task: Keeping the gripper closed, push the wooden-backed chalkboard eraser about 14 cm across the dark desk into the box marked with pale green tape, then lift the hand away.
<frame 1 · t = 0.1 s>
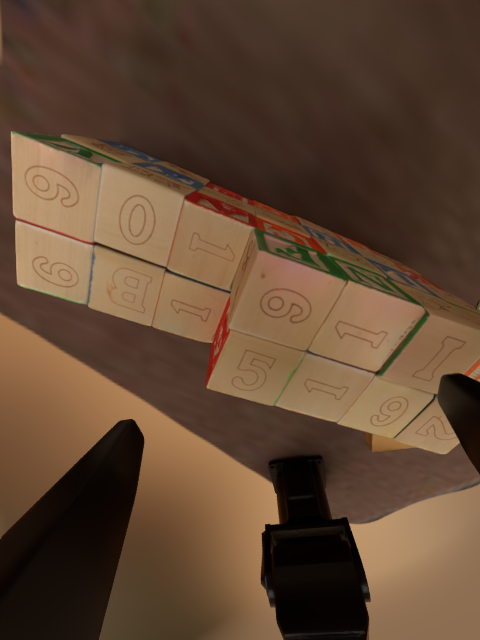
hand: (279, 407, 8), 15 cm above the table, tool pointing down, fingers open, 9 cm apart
stack of blocks: (256, 247, 21), on the table
chalkboard eraser: (384, 385, 27), on the table
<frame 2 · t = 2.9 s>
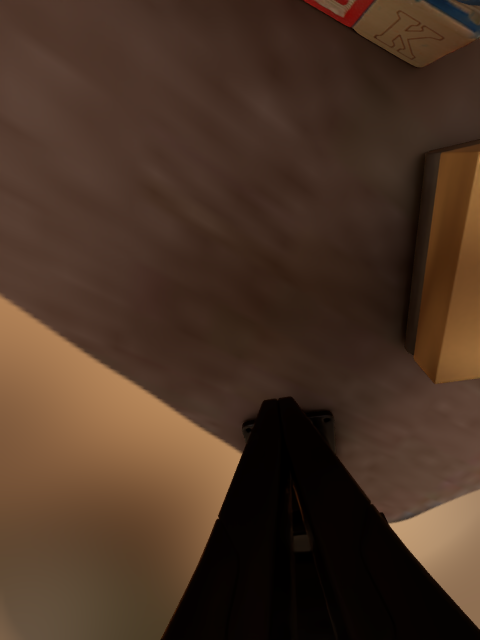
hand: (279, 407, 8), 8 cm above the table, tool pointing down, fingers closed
chalkboard eraser: (459, 255, 14), on the table
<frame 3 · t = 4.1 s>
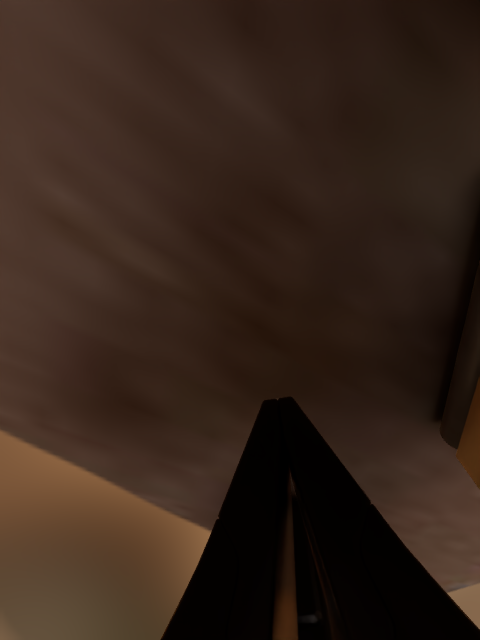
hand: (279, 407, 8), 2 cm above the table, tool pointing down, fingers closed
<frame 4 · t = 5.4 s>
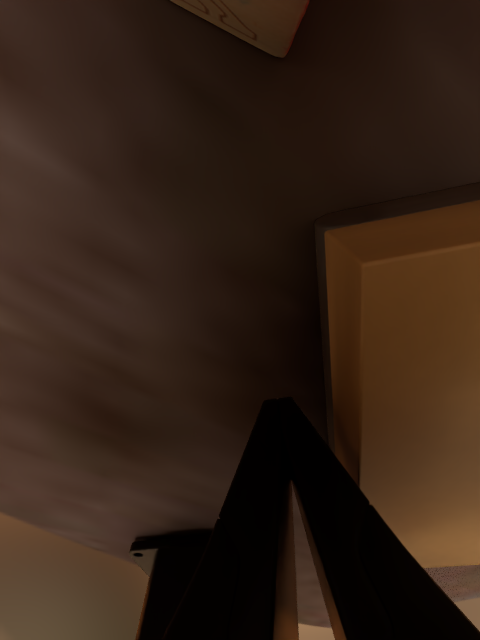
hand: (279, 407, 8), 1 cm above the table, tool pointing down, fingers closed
chalkboard eraser: (398, 362, 9), on the table, touching gripper
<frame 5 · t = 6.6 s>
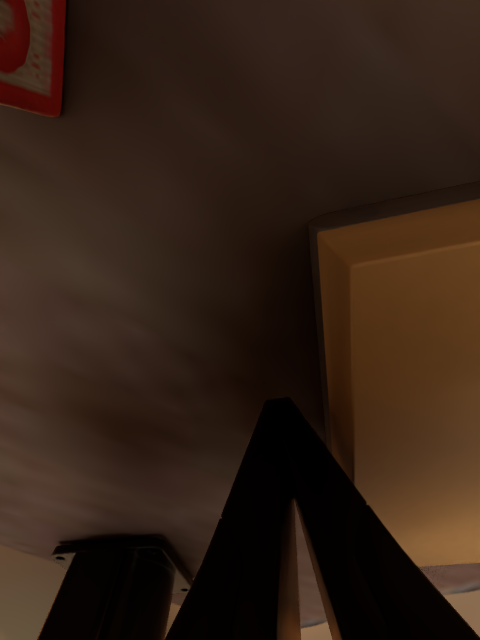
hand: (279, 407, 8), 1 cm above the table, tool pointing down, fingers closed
chalkboard eraser: (395, 362, 9), on the table, touching gripper
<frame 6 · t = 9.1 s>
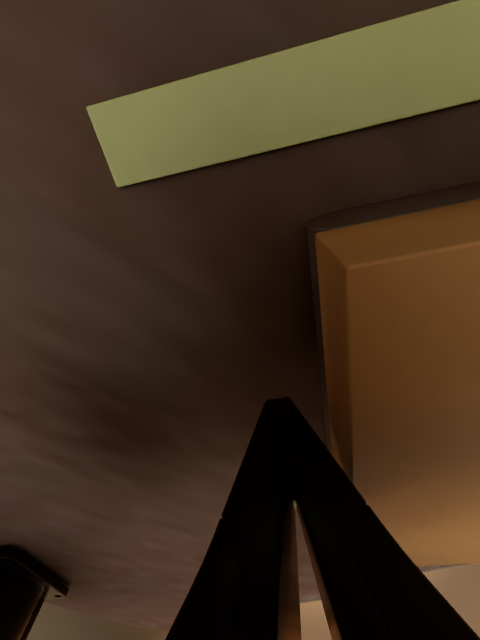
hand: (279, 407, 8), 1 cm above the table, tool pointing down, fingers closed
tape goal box: (409, 359, 9), on the table
chalkboard eraser: (395, 362, 9), on the table, touching gripper
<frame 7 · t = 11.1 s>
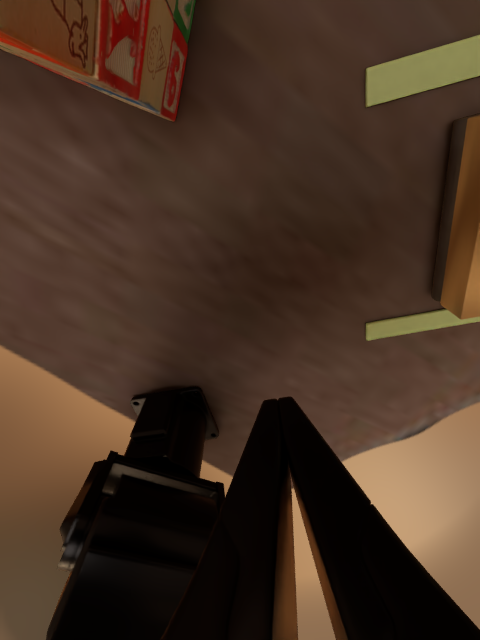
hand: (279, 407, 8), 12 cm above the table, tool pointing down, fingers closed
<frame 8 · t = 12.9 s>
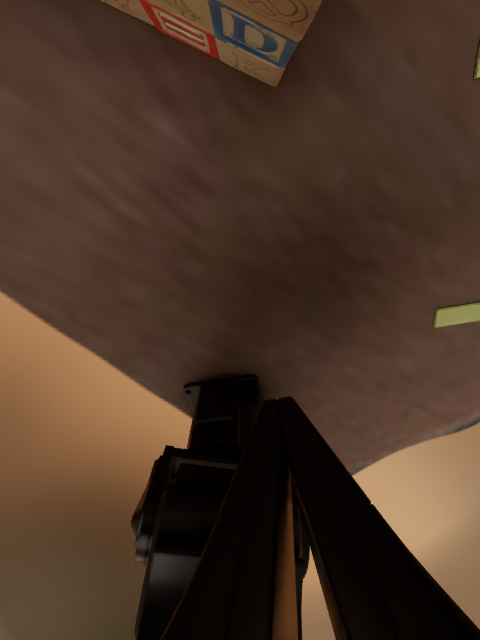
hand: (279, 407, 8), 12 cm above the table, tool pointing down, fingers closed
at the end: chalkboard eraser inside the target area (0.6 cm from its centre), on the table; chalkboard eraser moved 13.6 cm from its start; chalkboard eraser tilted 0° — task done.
